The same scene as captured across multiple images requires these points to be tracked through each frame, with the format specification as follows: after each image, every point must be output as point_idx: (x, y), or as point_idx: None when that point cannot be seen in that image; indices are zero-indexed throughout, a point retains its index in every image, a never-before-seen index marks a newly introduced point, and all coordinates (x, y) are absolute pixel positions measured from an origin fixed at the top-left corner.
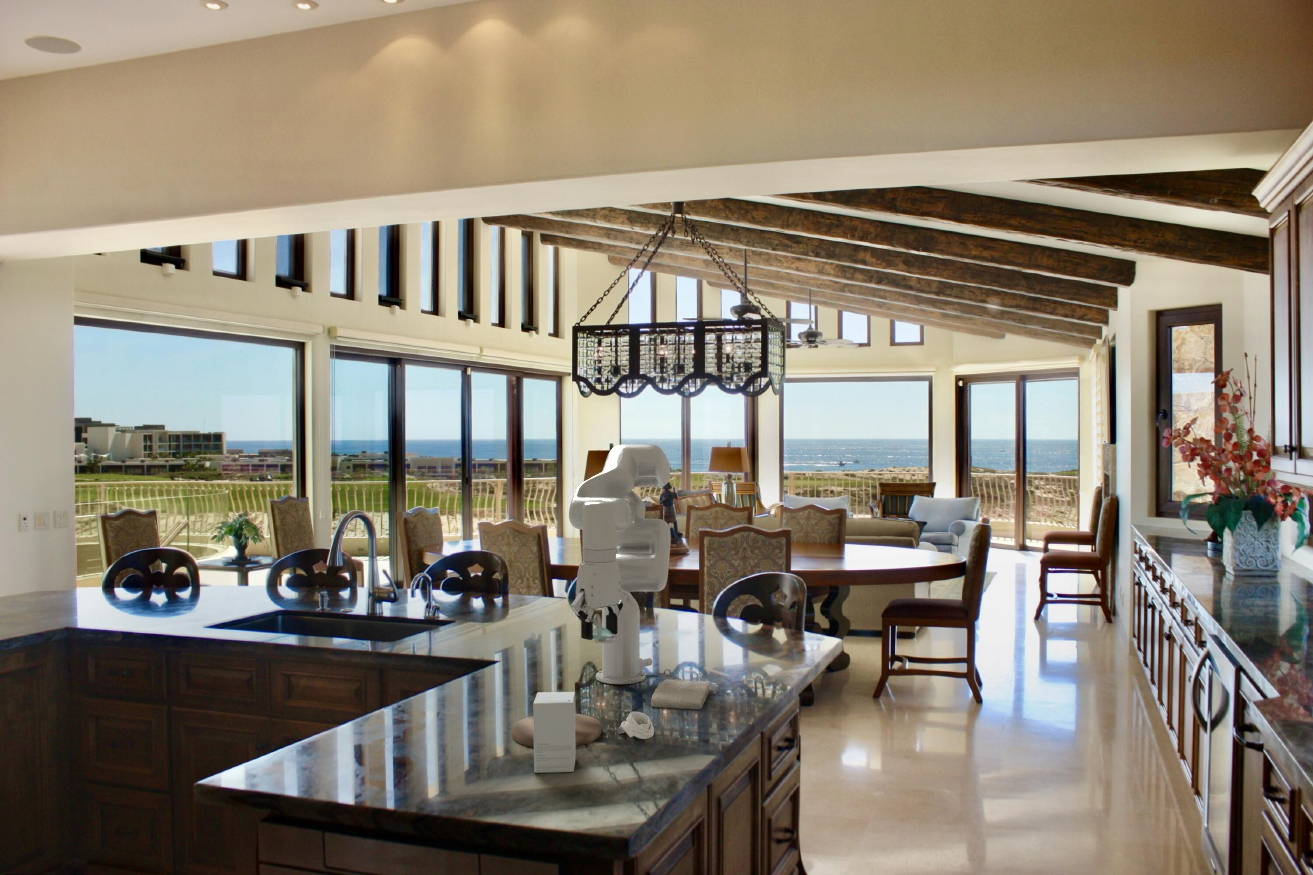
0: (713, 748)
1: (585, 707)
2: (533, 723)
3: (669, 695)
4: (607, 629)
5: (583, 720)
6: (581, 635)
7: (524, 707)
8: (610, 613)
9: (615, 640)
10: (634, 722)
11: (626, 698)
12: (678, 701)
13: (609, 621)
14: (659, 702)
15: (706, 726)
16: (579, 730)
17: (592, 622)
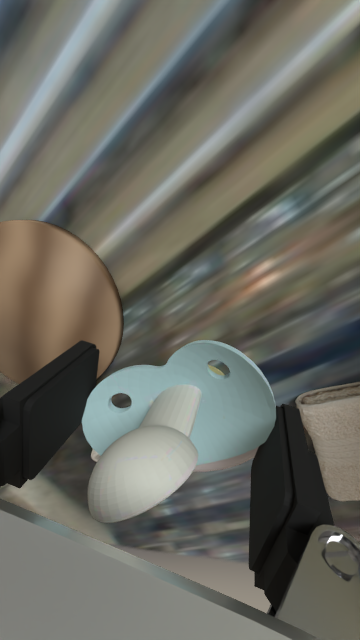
0: (138, 539)
1: (215, 257)
2: (13, 262)
3: (340, 439)
4: (271, 427)
5: (89, 341)
6: (76, 346)
7: (127, 104)
8: (277, 567)
9: (199, 469)
10: (92, 457)
11: (346, 308)
12: (321, 458)
13: (269, 490)
14: (302, 419)
15: (226, 515)
16: (43, 365)
17: (23, 483)
